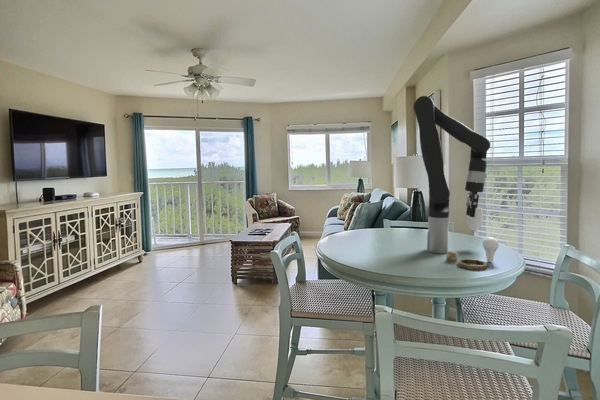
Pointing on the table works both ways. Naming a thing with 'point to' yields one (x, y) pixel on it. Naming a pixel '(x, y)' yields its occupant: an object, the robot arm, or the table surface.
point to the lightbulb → (490, 247)
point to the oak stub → (451, 256)
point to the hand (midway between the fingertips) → (470, 216)
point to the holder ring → (472, 264)
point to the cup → (475, 220)
